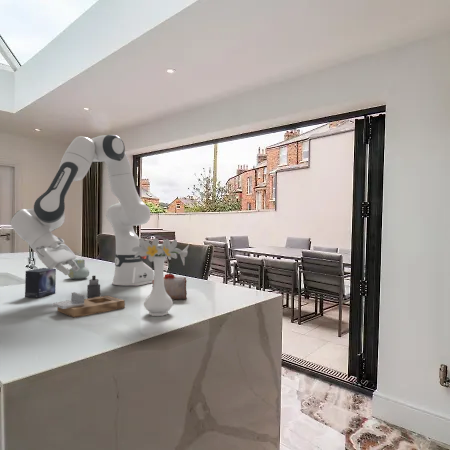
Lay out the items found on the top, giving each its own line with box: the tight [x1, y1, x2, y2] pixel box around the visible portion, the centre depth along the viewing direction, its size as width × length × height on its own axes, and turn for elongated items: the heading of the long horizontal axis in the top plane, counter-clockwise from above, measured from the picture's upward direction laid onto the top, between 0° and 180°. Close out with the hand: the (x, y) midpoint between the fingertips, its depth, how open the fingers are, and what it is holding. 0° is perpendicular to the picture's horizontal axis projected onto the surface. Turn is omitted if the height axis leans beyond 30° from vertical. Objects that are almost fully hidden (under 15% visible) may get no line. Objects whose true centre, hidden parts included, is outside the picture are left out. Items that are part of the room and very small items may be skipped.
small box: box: [24, 267, 57, 299], centre depth 146 cm, size 11×6×10 cm, turn 168°
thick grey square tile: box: [52, 291, 85, 309], centre depth 118 cm, size 7×7×3 cm
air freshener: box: [67, 258, 90, 280], centre depth 188 cm, size 11×8×10 cm
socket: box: [57, 295, 126, 319], centre depth 124 cm, size 18×12×3 cm, turn 138°
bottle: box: [86, 275, 101, 299], centre depth 137 cm, size 4×4×10 cm
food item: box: [151, 272, 188, 301], centre depth 143 cm, size 14×8×10 cm, turn 96°
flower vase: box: [132, 237, 190, 317], centre depth 119 cm, size 13×18×25 cm
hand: (73, 271), depth 137 cm, fingers open, 8 cm apart
